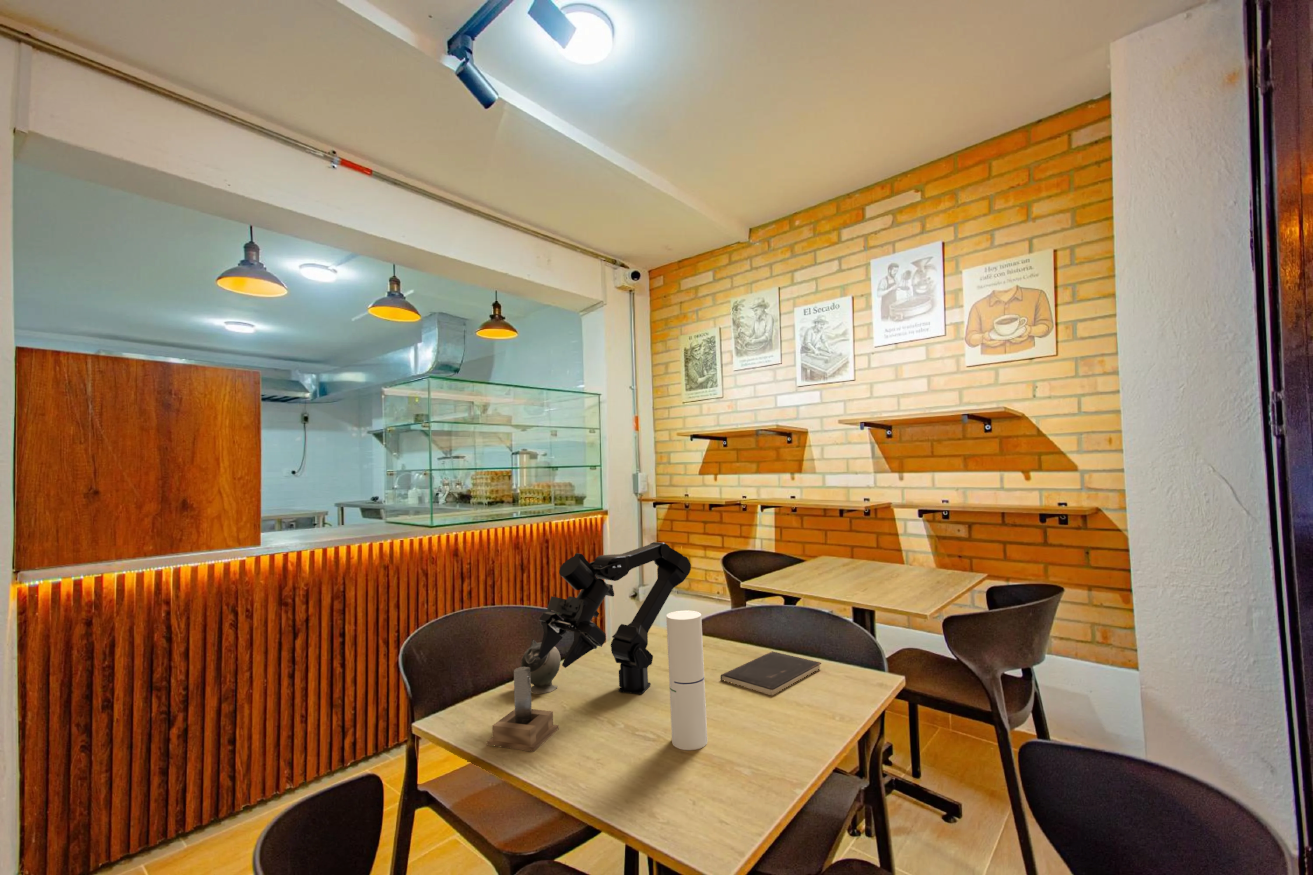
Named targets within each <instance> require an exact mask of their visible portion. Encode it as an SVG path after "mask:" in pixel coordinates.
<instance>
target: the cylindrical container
mask: <svg viewBox="0 0 1313 875" xmlns="http://www.w3.org/2000/svg"><path fill="white" fill-rule="evenodd" d="M702 622H703V621H702V613H700V612H699V611H696V610H677V611H671V612H668V613H666V637H667V657H668V658H667V659H668V662H667V664H668V679H669V680H668V681H669V685H668V686H669V705H670V724H671V725H670V726H671V727H670V729H671V742H672V743H671V744H672V745H673V747H675V748H677V749H680V750H683V751H696V750H700V749H702V748H703V747H705V746H707V745H708V727H707V726H708V724H707V706H706V703H707V701H706V684H705V664H704V661H705V660H704V645H703V644H704V643H703V625H702V624H703V623H702Z"/></svg>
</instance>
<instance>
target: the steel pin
mask: <svg viewBox="0 0 1313 875" xmlns="http://www.w3.org/2000/svg"><path fill="white" fill-rule="evenodd" d="M513 686H514V687H513V689H514V691H513V692H514V709H515V723H517V724H525V725H527V724H529V723H530V722H531V721H532V709H533V708H532V692H531V687H532V685H531V678H530V668H529V667H521V666H520V667H517V668H515V669H513Z"/></svg>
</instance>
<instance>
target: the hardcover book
mask: <svg viewBox="0 0 1313 875" xmlns="http://www.w3.org/2000/svg"><path fill="white" fill-rule="evenodd" d="M821 664H822V662H820V661H815V660H811V659H808V658H807V659H806V658H802V657H799V656H794V655H790V654H786V653H785V654H784V653H780V652H777V651H770V652H767V653H766V654H764V655H761V656H758V657H757V658H754V659H753V660H750V661H748V662H745V663H743V664H741V665H739V666H737V667H735V668H732V669H730V670H728V671H726V672H724V673H721V675H720V681H721V680H725V681H728V682H727V683H729V682H732V683H734V684H733V685H735V684H737V685H736V686H739V685H741V686H740V687H742V686H744V687H743V688H745V687H747V688H746V689H749V690H752V689H753V691H755V690H756V692H759V693H762V694H765V695H769V696H774V695H776V694H778V693H779V691H780V692H781V691H783V690H785V689H787V688H788V686H789V685H790V686H792V685H794V684H795V683H794V682H796V681H798V680H799V681H801V680H803V679H805V678H806V676H807V675H808V676H810V675H812V674H814V673H815V672H814V671H816V672H817V671H819V670H821V669H820V668H821V666H820V665H821ZM818 669H819V670H818ZM813 672H814V673H813ZM811 673H812V674H811ZM808 676H807V677H808ZM804 677H805V678H804ZM802 678H803V679H802ZM800 679H801V680H800ZM725 681H724V682H725ZM799 681H798V682H799ZM732 683H731V684H732ZM793 683H794V684H793ZM796 683H797V682H796ZM791 684H792V685H791ZM790 686H789V687H790ZM786 687H787V688H786ZM784 688H785V689H784ZM782 689H783V690H782Z"/></svg>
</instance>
